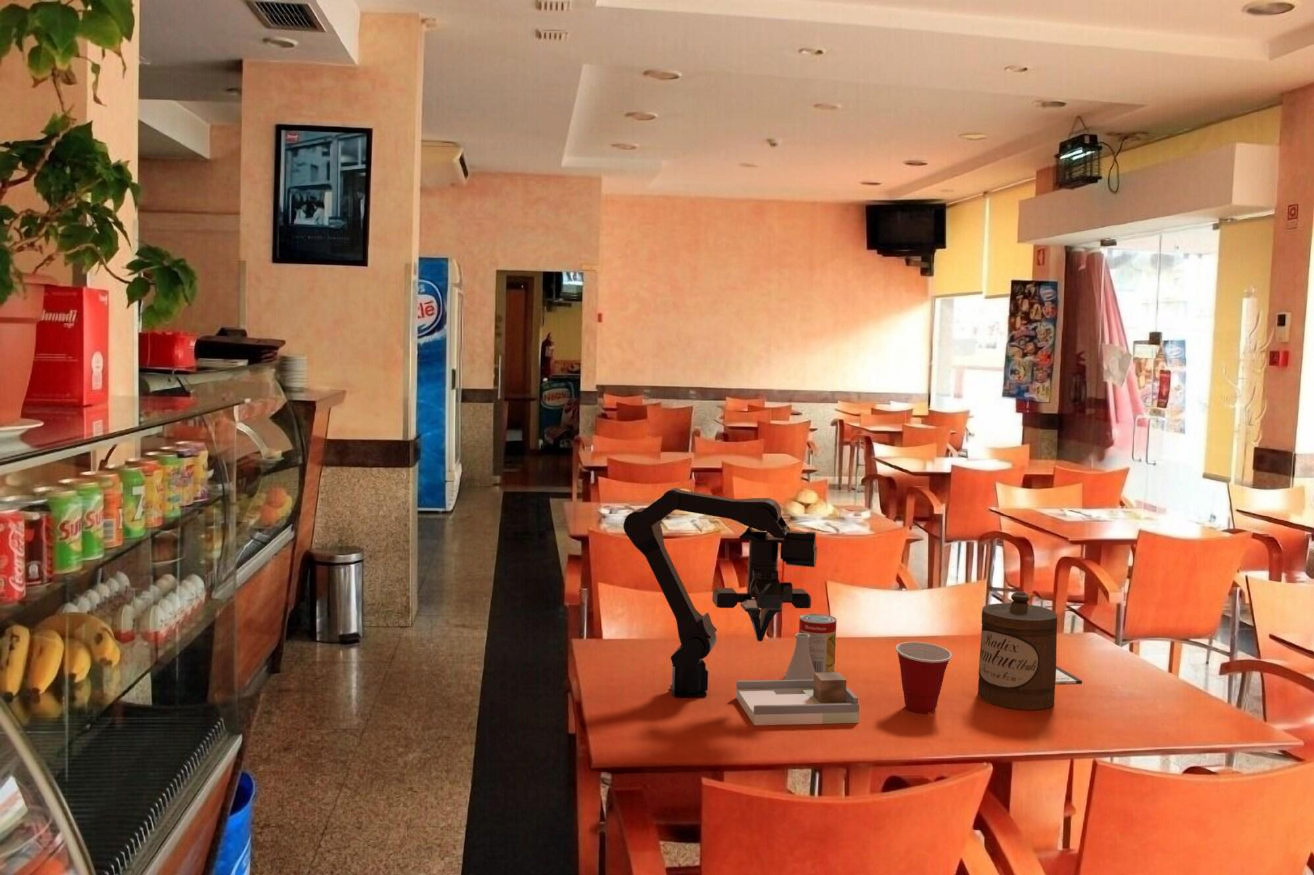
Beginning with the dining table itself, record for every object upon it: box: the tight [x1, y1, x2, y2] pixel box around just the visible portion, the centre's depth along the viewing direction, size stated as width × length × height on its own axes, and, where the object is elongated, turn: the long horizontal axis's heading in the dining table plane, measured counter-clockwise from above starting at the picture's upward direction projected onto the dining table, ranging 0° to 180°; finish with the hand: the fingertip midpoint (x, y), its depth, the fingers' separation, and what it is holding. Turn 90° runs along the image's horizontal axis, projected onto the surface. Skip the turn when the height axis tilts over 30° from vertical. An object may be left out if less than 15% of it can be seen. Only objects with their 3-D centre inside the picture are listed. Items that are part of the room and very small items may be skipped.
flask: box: [783, 632, 815, 680], centre depth 236 cm, size 7×7×10 cm
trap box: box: [735, 679, 860, 726], centre depth 217 cm, size 20×16×4 cm
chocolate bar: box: [1055, 665, 1083, 685], centre depth 248 cm, size 9×1×18 cm
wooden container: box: [977, 590, 1058, 711], centre depth 227 cm, size 15×15×22 cm
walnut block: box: [813, 671, 847, 703], centre depth 218 cm, size 5×5×4 cm
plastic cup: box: [895, 641, 953, 714], centre depth 219 cm, size 11×11×12 cm
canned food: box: [798, 613, 838, 673], centre depth 242 cm, size 8×8×12 cm
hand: (759, 640), depth 222 cm, fingers closed
